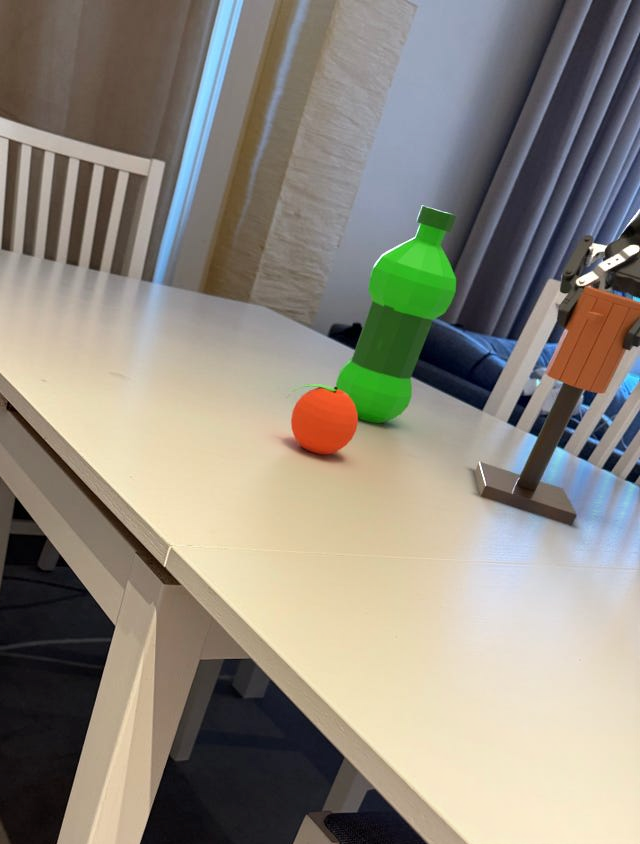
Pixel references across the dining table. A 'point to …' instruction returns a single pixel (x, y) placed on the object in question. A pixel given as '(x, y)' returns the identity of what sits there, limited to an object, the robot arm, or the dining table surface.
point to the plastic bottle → (399, 319)
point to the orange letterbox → (593, 340)
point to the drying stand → (535, 468)
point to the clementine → (324, 419)
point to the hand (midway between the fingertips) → (594, 332)
